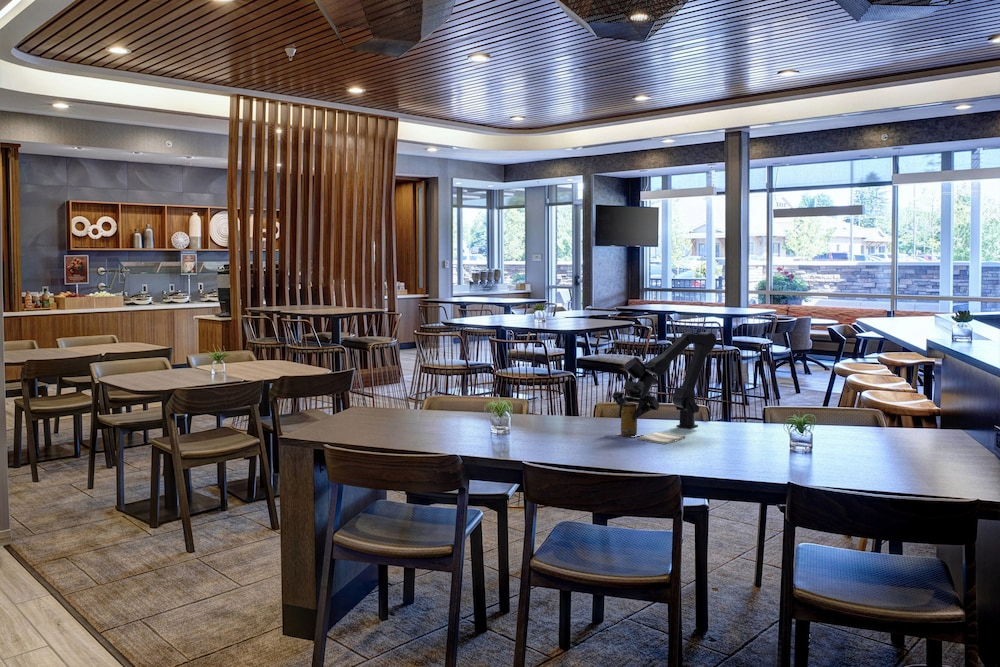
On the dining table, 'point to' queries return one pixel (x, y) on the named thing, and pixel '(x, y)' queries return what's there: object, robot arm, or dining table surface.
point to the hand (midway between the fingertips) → (626, 418)
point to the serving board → (661, 437)
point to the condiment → (628, 420)
